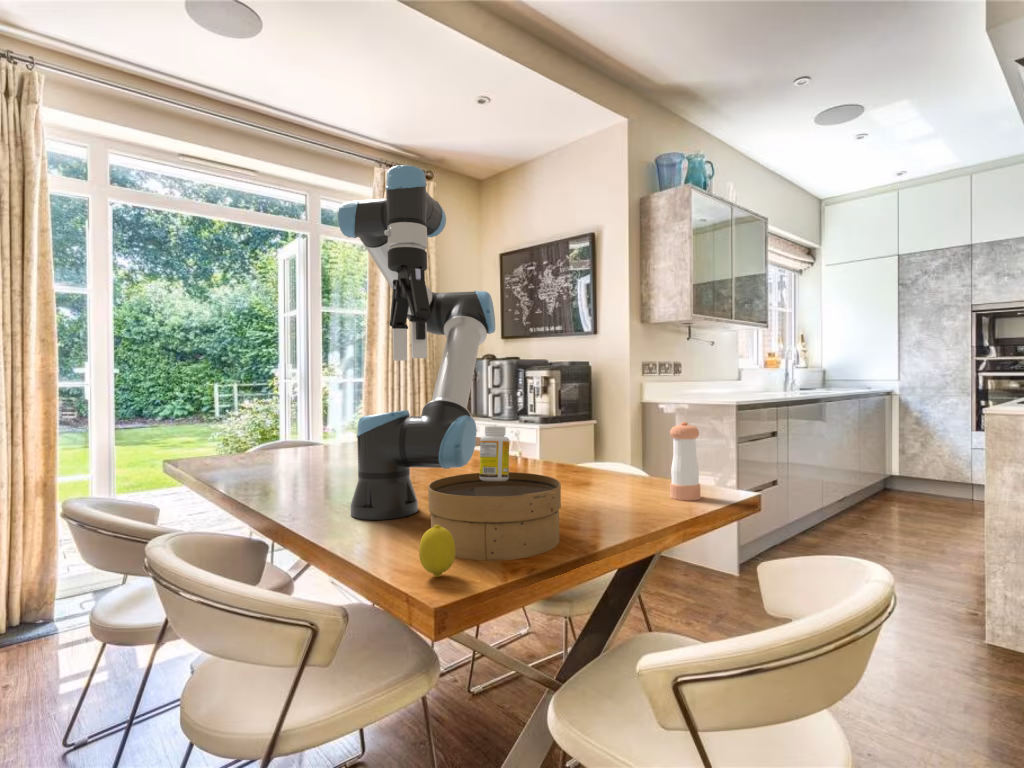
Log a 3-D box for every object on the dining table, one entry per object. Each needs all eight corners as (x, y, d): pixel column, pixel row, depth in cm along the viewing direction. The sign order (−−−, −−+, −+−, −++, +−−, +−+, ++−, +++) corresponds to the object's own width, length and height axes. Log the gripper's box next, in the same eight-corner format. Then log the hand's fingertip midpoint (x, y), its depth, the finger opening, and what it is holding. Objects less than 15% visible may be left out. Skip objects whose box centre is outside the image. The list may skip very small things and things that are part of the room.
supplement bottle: (503, 480, 106) (504, 427, 108) (512, 481, 101) (513, 426, 102) (475, 479, 105) (477, 426, 106) (483, 481, 99) (485, 425, 101)
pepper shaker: (704, 500, 134) (703, 422, 134) (675, 501, 134) (674, 423, 134) (694, 494, 141) (693, 420, 141) (666, 494, 141) (665, 421, 141)
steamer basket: (588, 548, 97) (586, 485, 97) (454, 573, 86) (452, 501, 86) (527, 518, 119) (525, 467, 119) (415, 535, 109) (413, 478, 109)
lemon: (412, 577, 83) (411, 525, 83) (440, 568, 87) (439, 518, 87) (435, 586, 79) (434, 531, 79) (463, 576, 83) (462, 524, 83)
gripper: (373, 260, 115) (375, 361, 115) (405, 232, 92) (407, 357, 93) (408, 263, 118) (410, 361, 118) (447, 236, 96) (449, 357, 96)
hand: (409, 359), depth 105 cm, fingers open, 13 cm apart
